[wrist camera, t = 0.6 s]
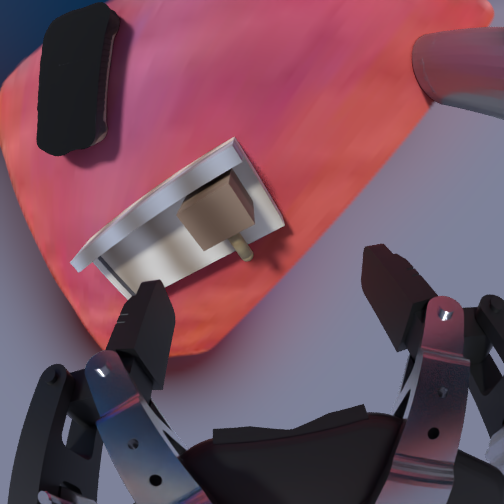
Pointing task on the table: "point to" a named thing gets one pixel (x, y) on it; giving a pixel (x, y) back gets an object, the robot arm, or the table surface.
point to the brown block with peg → (219, 213)
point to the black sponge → (75, 79)
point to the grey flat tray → (173, 226)
